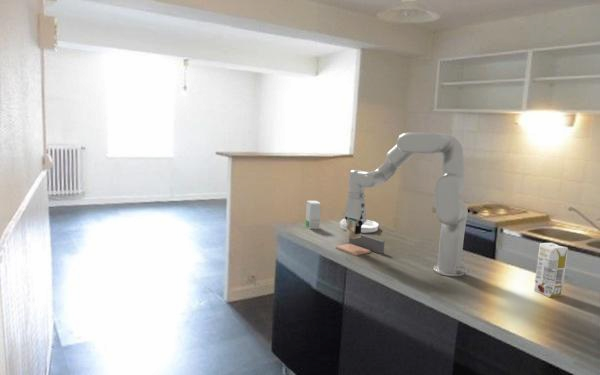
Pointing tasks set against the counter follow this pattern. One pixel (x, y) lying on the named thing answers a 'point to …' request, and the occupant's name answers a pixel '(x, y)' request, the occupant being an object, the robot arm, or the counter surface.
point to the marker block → (351, 229)
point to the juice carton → (550, 269)
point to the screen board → (369, 243)
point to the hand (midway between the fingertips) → (353, 232)
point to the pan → (363, 226)
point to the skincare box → (313, 214)
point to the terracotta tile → (353, 249)
